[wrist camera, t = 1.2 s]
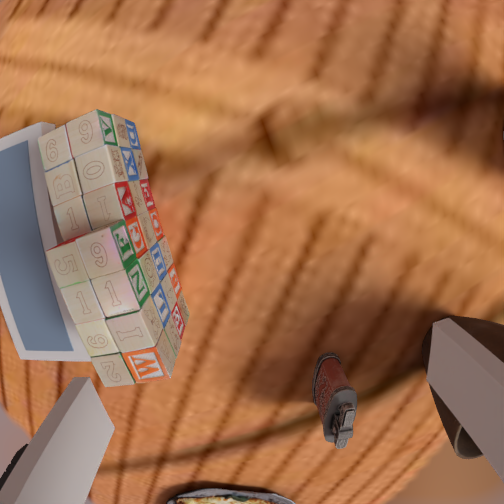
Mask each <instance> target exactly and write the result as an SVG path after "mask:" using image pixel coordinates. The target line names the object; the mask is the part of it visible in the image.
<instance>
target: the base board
mask: <svg viewBox="0 0 504 504" xmlns="http://www.w3.org/2000/svg"><path fill="white" fill-rule="evenodd" d="M53 130H55V124H51V123H46V122H39V123H36V124H34V125H31V126H29V127H26V128H24V129H21V130H19V131H17V132H14V133H12V134H10V135H7V136H5V137H3V138H1V139H0V306H1V309H2V312H3V315H4V318H5V320H6V323H7V326H8V329H9V331H10V334H11V337H12V339H13V342H14V344H15V347H16V349H17V352H18V354H19V356H20V359H27V360H48V361H91V356H89V354H88V352H87V350H86V348H85V346H84V344H83V342H82V340H81V338H80V336H79V334H78V332H77V329H76V327H75V323H74V321H73V319H72V317H71V315H70V313H69V310H68V308H67V306H66V303H65V301H64V299H63V296H62V294H61V291H60V288H59V287H58V285H57V282H56V280H55V277H54V275H53V272H52V269H51V267H50V264H49V261H48V258H47V255H46V251H47V250H49V249H51V248H53V247H55V246H57V245H59V244H60V243H62V242H64V239H63V237H62V235H61V232H60V229H59V226H58V223H57V220H56V217H55V213H54V209H53V205H52V202H51V198H50V194H49V191H48V187H47V183H46V179H45V170H44V167H43V163H42V159H41V154H40V149H39V145H38V138H39V137H41V136H43V135H45V134H47V133H49V132H51V131H53Z"/></svg>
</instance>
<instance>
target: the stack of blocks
mask: <svg viewBox="0 0 504 504" xmlns="http://www.w3.org/2000/svg"><path fill="white" fill-rule="evenodd" d="M38 145H39V149H40V154H41V159H42V163H43V167H44V170H45V179H46V183H47V187H48V191H49V194H50V198H51V202H52V205H53V209H54V213H55V217H56V220H57V223H58V226H59V229H60V232H61V235H62V237H63V239H64V242H62V243H60V244H59V245H57V246H55V247H53V248H51V249H49V250H47V251H46V255H47V258H48V261H49V264H50V267H51V269H52V272H53V275H54V277H55V280H56V282H57V285H58V287H59V288H60V291H61V294H62V296H63V299H64V301H65V303H66V306H67V308H68V310H69V313H70V315H71V317H72V319H73V321H74V323H75V327H76V329H77V332H78V334H79V336H80V338H81V340H82V342H83V344H84V346H85V348H86V350H87V352H88V354H89V356H91V362H92V364H93V366H94V367H95V369H96V371H97V373H98V375H99V377H100V379H101V381H102V383H103V384H104V386H105V387H111V386H121V385H132V384H135V382H136V383H145V382H152V381H159V380H165V379H169V378H171V375H172V371H173V368H174V364H175V360H176V358H177V355H178V352H179V348H180V345H181V339H182V336H183V332H184V329H185V326H186V325H187V321H188V317H189V311H188V308H187V305H186V302H185V299H184V296H183V293H182V287H181V284H180V281H179V278H178V275H177V272H176V269H175V265H174V263H173V259H172V255H171V252H170V249H169V246H168V242H167V239H166V236H165V235H164V233H163V229H162V226H161V223H160V219H159V216H158V212H157V209H156V207H155V204H154V200H153V196H152V193H151V190H150V186H149V182H148V174H147V170H146V166H145V162H144V158H143V154H142V151H141V148H140V143H139V139H138V135H137V131H136V127H135V123H134V122H131V121H129V120H127V119H124V118H122V117H120V116H117V115H115V114H109V113H106V112H103V111H101V110H97V109H96V110H94V111H91V112H89V113H87V114H85V115H83V116H81V117H78V118H76V119H74V120H72V121H70V122H68V123H66V124H65V125H63V126H61V127H59V128H57V129H55V130H53V131H51V132H49V133H47V134H45V135H43V136H41V137H39V138H38Z"/></svg>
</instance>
